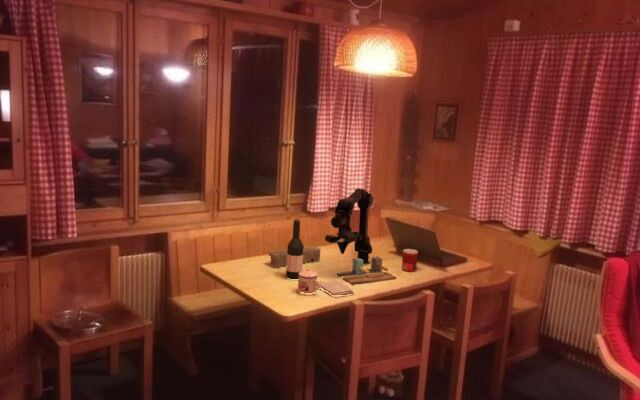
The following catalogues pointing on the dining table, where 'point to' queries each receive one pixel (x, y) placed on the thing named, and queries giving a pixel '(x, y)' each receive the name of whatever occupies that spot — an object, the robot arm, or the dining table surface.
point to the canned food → (409, 260)
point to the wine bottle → (294, 253)
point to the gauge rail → (375, 267)
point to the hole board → (369, 278)
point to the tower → (281, 256)
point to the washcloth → (336, 287)
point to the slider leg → (358, 266)
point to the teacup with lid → (308, 281)
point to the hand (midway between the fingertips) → (342, 254)
